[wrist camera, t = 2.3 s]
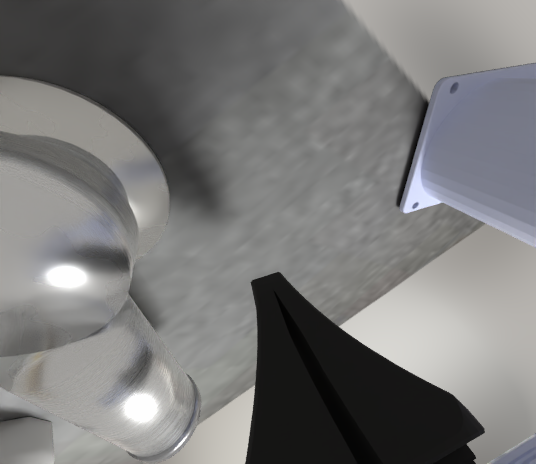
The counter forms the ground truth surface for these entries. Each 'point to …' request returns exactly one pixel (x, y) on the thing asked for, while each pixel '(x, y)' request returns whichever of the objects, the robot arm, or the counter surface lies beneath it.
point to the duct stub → (91, 145)
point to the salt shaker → (26, 441)
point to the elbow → (82, 307)
